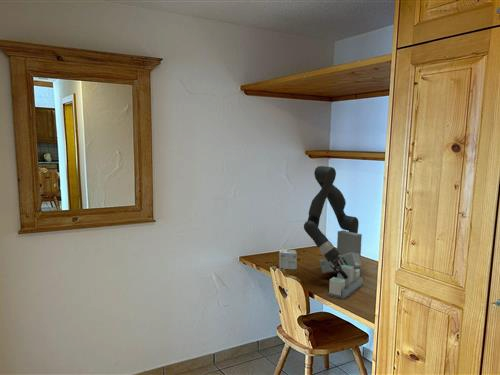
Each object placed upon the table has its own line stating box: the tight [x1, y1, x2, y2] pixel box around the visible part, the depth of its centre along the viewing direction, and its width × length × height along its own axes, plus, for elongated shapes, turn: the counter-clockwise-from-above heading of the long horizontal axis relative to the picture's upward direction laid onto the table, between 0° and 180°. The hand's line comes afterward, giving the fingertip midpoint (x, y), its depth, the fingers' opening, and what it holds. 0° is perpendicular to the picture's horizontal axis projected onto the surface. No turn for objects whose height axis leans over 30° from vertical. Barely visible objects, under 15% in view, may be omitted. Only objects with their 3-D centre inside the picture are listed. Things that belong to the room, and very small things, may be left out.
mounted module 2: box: [353, 268, 361, 282], centre depth 220 cm, size 5×6×7 cm
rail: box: [327, 276, 364, 300], centre depth 212 cm, size 26×9×4 cm, turn 144°
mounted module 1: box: [328, 276, 345, 296], centre depth 203 cm, size 5×6×7 cm
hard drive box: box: [319, 253, 363, 274], centre depth 230 cm, size 16×8×20 cm
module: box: [336, 265, 354, 287], centre depth 211 cm, size 5×7×10 cm
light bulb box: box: [278, 249, 298, 270], centre depth 248 cm, size 11×7×11 cm, turn 92°
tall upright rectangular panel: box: [336, 229, 362, 275], centre depth 239 cm, size 14×6×25 cm, turn 41°
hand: (348, 276), depth 210 cm, fingers closed on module, 5 cm apart
